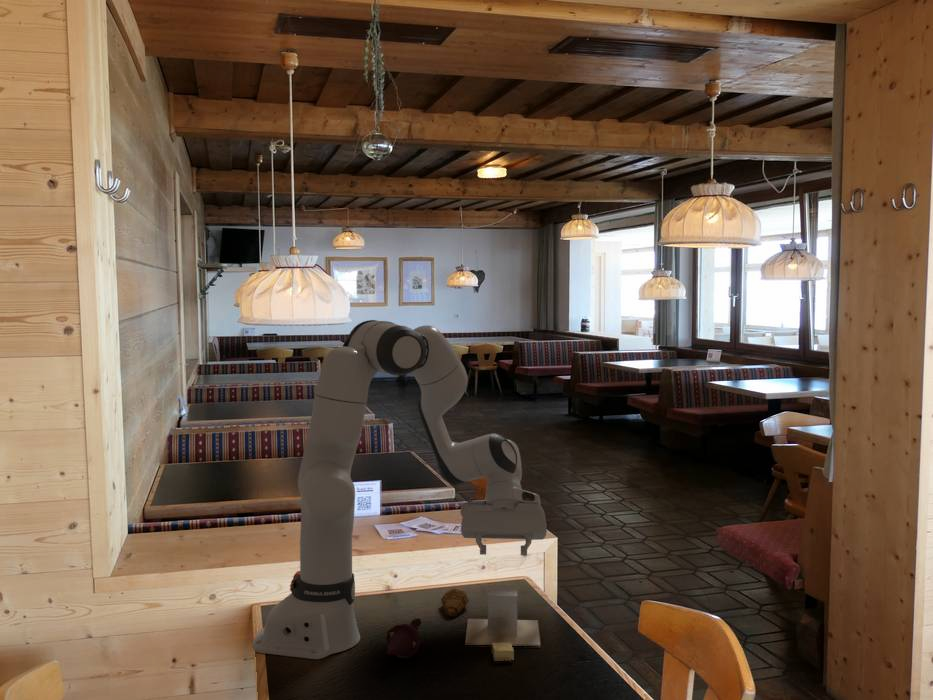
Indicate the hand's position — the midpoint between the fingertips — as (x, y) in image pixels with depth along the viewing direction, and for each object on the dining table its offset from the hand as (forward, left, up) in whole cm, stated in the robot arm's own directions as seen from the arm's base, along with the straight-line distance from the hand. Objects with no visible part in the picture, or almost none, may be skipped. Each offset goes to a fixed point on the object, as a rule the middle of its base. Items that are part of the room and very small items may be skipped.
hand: (503, 553), depth 183 cm
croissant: (-11, +6, -16) cm, 20 cm away
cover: (0, -8, -15) cm, 17 cm away
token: (0, -20, -15) cm, 25 cm away
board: (0, -9, -15) cm, 18 cm away
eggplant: (-20, -21, -15) cm, 33 cm away
